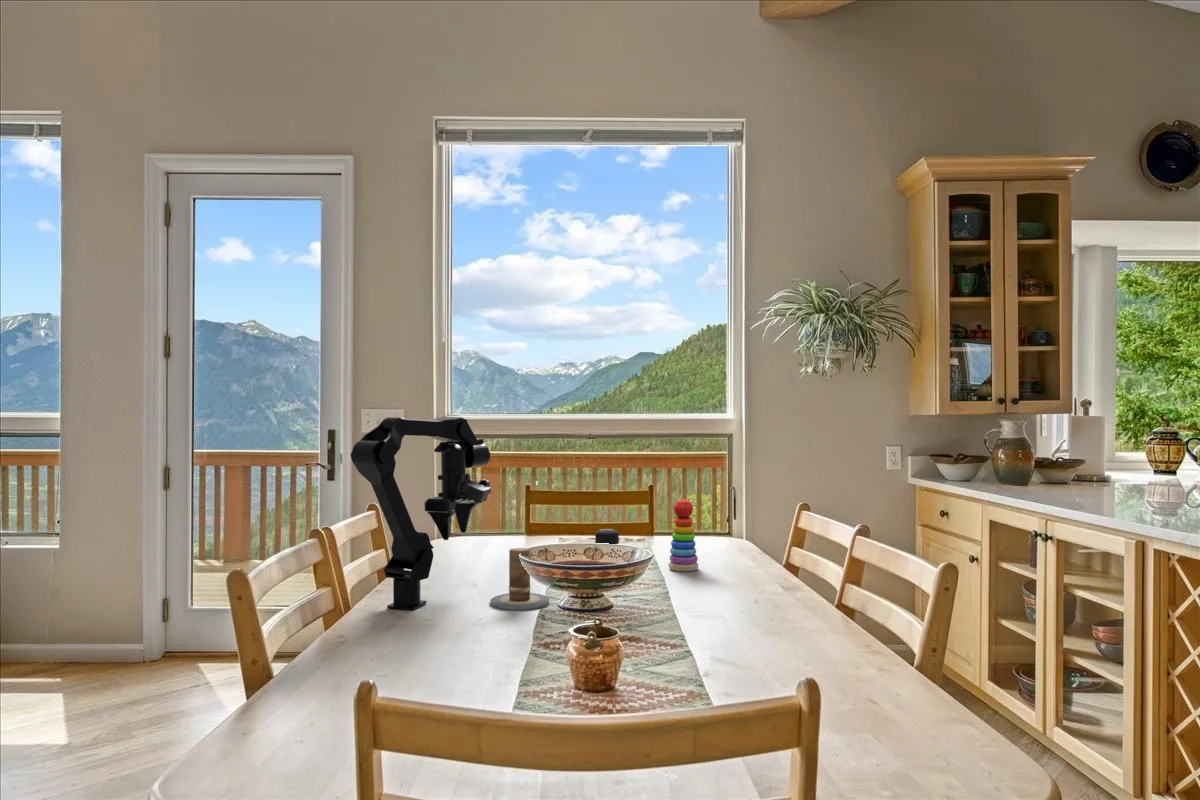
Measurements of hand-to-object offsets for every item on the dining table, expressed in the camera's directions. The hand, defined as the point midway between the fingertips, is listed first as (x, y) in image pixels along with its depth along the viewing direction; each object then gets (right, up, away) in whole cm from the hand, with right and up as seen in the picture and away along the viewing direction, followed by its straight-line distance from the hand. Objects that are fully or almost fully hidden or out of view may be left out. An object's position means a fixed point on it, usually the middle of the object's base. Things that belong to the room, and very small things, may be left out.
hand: (454, 536), depth 191 cm
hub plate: (+16, -13, -11) cm, 24 cm away
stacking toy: (+57, -13, +26) cm, 64 cm away
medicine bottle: (+36, -13, +16) cm, 42 cm away
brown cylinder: (+16, -12, -11) cm, 23 cm away
